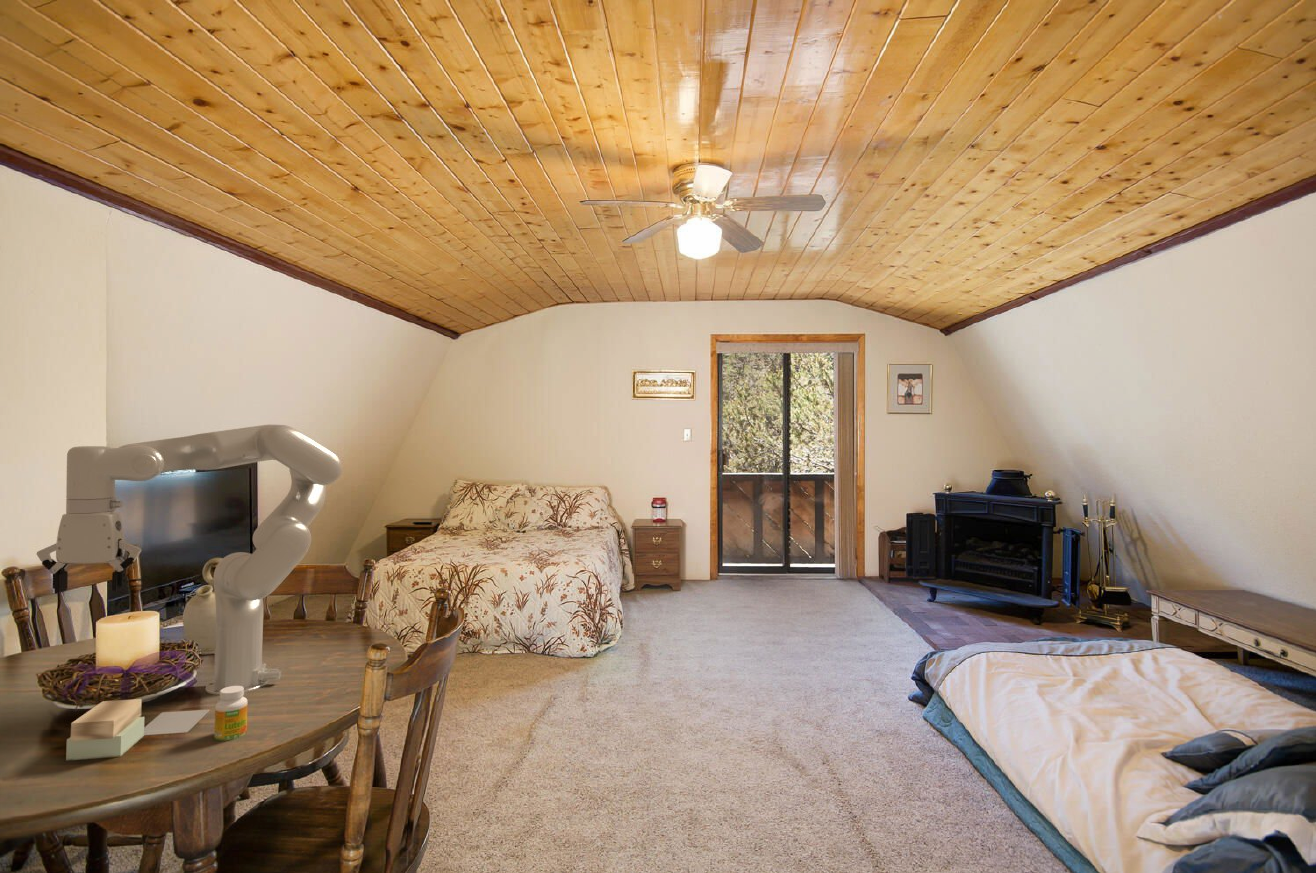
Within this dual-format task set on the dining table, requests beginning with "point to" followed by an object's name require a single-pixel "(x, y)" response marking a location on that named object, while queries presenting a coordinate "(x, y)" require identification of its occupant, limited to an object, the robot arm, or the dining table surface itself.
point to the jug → (202, 613)
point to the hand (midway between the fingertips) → (89, 590)
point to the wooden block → (106, 720)
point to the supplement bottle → (231, 714)
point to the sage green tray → (106, 743)
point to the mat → (174, 722)
